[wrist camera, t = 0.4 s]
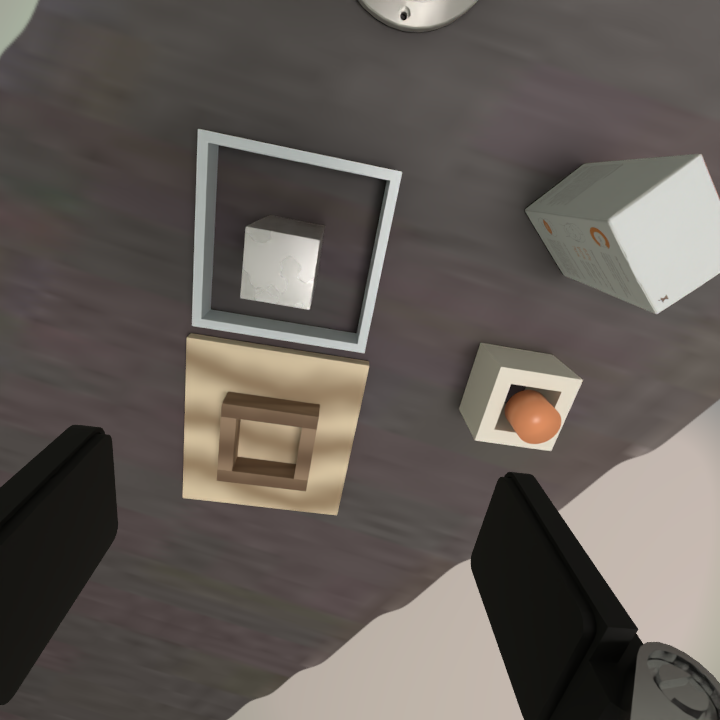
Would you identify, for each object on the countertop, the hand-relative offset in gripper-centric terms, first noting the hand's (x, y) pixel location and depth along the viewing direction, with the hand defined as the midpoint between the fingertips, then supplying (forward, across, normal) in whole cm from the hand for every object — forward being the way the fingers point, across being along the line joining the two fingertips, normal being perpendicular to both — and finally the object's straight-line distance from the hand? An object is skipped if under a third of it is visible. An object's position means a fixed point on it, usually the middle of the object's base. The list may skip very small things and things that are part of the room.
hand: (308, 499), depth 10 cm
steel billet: (+31, +4, -1) cm, 32 cm away
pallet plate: (+32, +4, +18) cm, 37 cm away
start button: (+26, -20, +9) cm, 34 cm away
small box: (+31, -22, -8) cm, 39 cm away
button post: (+32, -20, +9) cm, 38 cm away
